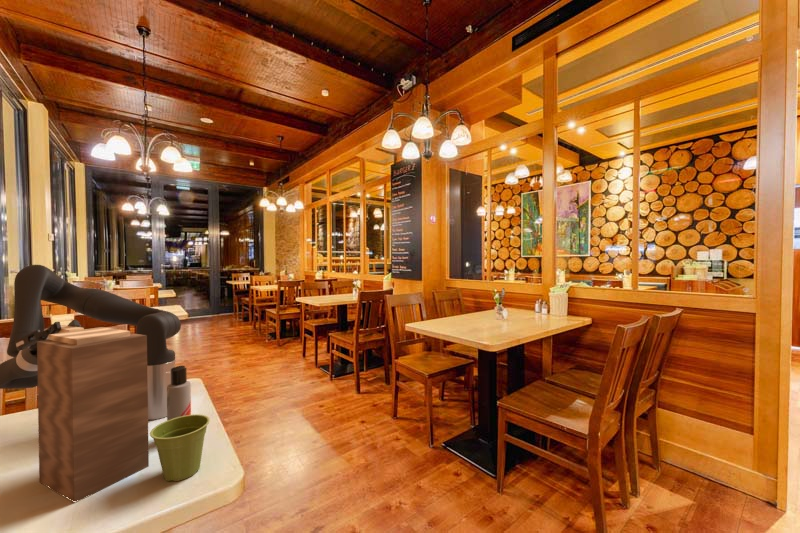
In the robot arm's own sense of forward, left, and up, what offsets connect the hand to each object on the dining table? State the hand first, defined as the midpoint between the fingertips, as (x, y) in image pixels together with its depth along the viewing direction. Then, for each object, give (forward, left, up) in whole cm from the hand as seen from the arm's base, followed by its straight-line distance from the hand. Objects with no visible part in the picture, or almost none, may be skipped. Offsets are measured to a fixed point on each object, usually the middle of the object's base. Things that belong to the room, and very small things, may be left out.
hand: (67, 324), depth 85 cm
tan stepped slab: (-2, +5, -2) cm, 7 cm away
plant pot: (-21, +24, -35) cm, 47 cm away
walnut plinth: (-5, +11, -34) cm, 37 cm away
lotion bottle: (-23, +4, -35) cm, 42 cm away
